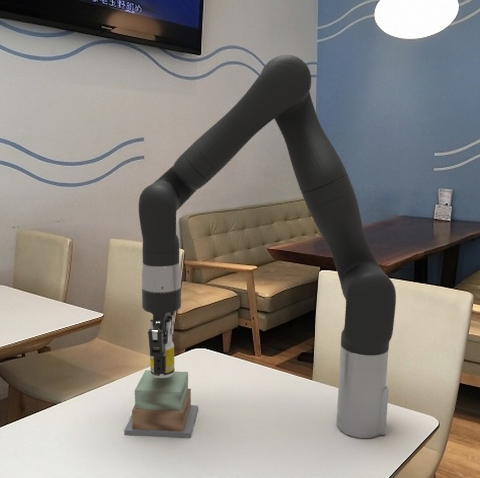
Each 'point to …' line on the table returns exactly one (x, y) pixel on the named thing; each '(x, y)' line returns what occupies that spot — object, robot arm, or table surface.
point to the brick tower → (161, 402)
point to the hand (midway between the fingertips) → (162, 366)
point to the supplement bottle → (169, 360)
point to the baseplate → (182, 434)
